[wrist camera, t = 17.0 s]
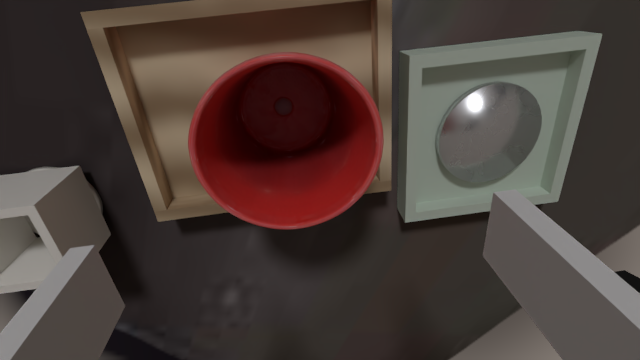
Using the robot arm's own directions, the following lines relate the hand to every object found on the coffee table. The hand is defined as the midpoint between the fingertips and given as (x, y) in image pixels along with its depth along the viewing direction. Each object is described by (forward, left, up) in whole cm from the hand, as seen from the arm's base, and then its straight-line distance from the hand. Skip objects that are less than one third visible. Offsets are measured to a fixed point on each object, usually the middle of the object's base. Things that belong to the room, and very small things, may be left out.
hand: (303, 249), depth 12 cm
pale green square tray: (+5, +17, -20) cm, 26 cm away
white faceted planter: (+7, -21, -20) cm, 30 cm away
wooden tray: (0, -2, -20) cm, 20 cm away
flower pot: (0, 0, -19) cm, 19 cm away
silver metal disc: (+5, +17, -18) cm, 25 cm away
